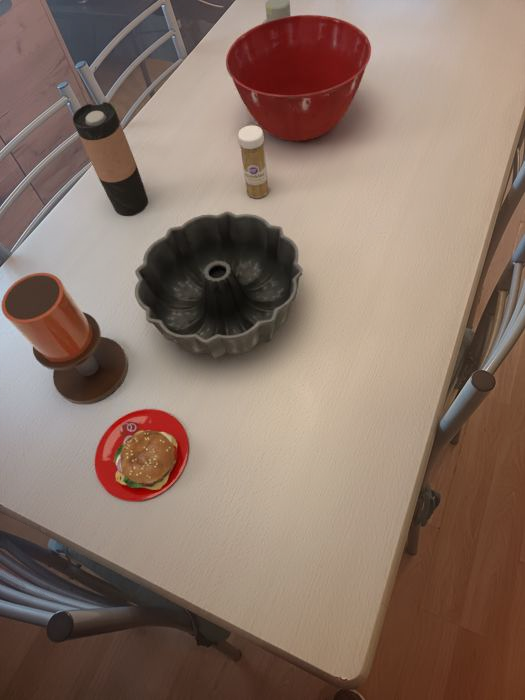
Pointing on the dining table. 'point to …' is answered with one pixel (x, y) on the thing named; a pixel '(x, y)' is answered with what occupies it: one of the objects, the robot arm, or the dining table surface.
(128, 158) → the travel mug
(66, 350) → the tumbler
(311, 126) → the mixing bowl
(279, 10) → the air freshener
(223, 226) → the bundt pan
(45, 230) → the dining table surface
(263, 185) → the sprinkles bottle
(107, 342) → the wooden pedestal stand
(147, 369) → the dining table surface
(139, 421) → the hamburger
